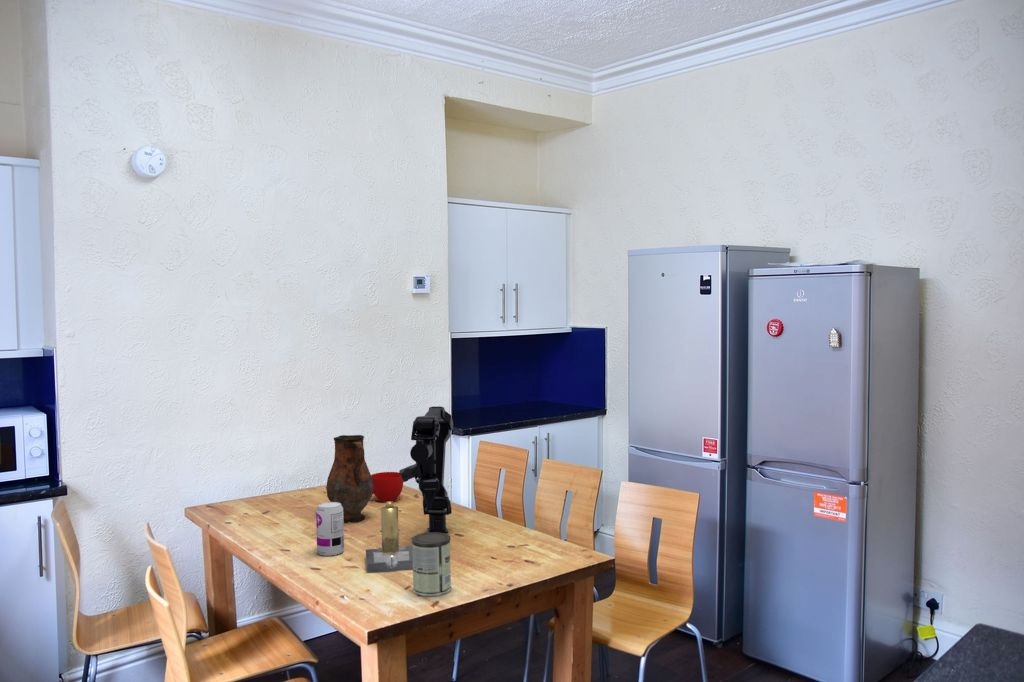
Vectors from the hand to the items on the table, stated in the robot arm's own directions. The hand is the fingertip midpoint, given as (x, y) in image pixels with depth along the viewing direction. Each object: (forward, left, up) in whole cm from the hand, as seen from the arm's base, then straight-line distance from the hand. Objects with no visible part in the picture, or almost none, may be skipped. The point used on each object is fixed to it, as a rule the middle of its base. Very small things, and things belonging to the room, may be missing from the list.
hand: (427, 505), depth 247 cm
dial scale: (+14, -13, -13) cm, 23 cm away
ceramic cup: (-65, -11, -13) cm, 67 cm away
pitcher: (-38, -23, -13) cm, 46 cm away
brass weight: (+13, -12, -10) cm, 20 cm away
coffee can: (+39, -3, -13) cm, 41 cm away
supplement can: (-1, -30, -13) cm, 33 cm away
